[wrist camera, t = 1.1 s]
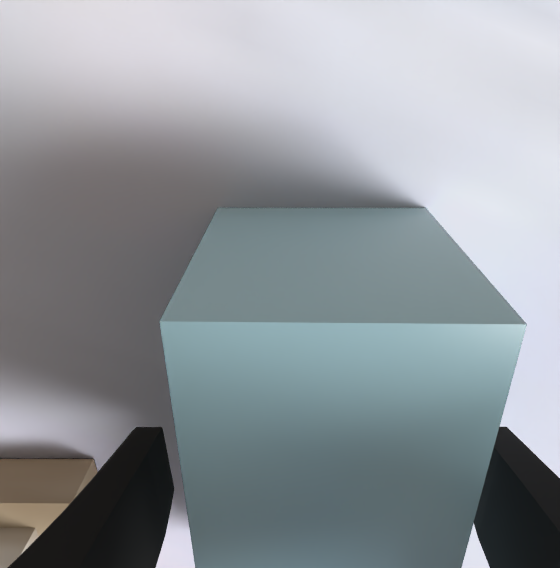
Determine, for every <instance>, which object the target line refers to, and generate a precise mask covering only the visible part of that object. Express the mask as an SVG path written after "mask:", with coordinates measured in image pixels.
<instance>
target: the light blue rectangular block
mask: <svg viewBox="0 0 560 568" xmlns="http://www.w3.org/2000/svg"><path fill="white" fill-rule="evenodd" d="M159 322H160V329H161V335H162V342H163V349H164V356H165V363H166V370H167V377H168V383H169V390H170V397H171V404H172V411H173V418H174V425H175V431H176V438H177V445H178V452H179V459H180V466H181V472H182V479H183V486H184V493H185V500H186V507H187V514H188V520H189V527H190V534H191V541H192V548H193V555H194V562H195V568H461V567H462V563H463V560H464V556H465V552H466V548H467V545H468V541H469V537H470V534H471V530H472V526H473V522H474V519H475V515H476V511H477V508H478V504H479V500H480V496H481V493H482V489H483V485H484V482H485V478H486V474H487V470H488V467H489V463H490V459H491V456H492V452H493V448H494V444H495V441H496V437H497V433H498V430H499V426H500V422H501V418H502V415H503V411H504V407H505V404H506V400H507V396H508V393H509V389H510V385H511V381H512V378H513V374H514V370H515V367H516V363H517V359H518V355H519V352H520V348H521V344H522V341H523V337H524V333H525V329H526V326H527V324H526V323H525V322H524V321H523V319H522V318H521V317H520V316H519V315H518V314H517V313H516V311H515V310H514V309H513V308H512V307H511V306H510V304H509V303H508V302H507V301H506V300H505V299H504V298H503V296H502V295H501V294H500V293H499V292H498V291H497V289H496V288H495V287H494V286H493V285H492V284H491V283H490V281H489V280H488V279H487V278H486V277H485V276H484V274H483V273H482V272H481V271H480V270H479V269H478V268H477V266H476V265H475V264H474V263H473V262H472V261H471V259H470V258H469V257H468V256H467V255H466V254H465V253H464V251H463V250H462V249H461V248H460V247H459V246H458V244H457V243H456V242H455V241H454V240H453V239H452V238H451V236H450V235H449V234H448V233H447V232H446V231H445V229H444V228H443V227H442V226H441V225H440V224H439V223H438V221H437V220H436V219H435V218H434V217H433V216H432V214H431V213H430V212H429V211H428V210H427V209H426V208H217V210H216V212H215V214H214V216H213V218H212V220H211V222H210V224H209V226H208V228H207V230H206V232H205V234H204V236H203V238H202V240H201V242H200V244H199V245H198V247H197V249H196V251H195V253H194V255H193V257H192V259H191V261H190V263H189V265H188V267H187V269H186V271H185V273H184V275H183V277H182V279H181V281H180V282H179V284H178V286H177V288H176V290H175V292H174V294H173V296H172V298H171V300H170V302H169V304H168V306H167V308H166V310H165V312H164V314H163V316H162V318H161V319H160V321H159Z"/></svg>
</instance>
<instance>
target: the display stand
mask: <svg viewBox="0 0 560 568" xmlns="http://www.w3.org/2000/svg"><path fill="white" fill-rule="evenodd" d="M97 473H98V472H97V469H96V465H95V462H94V459H0V568H7V567H9V566H10V565H11V564H12V563H13V562H14V561H15V560H16V559H17V558H18V557H19V556H20V555H21V554H22V553H23V552H24V551H25V550H26V549H27V548H28V547H29V546H30V545H31V544H32V543H33V542H34V541H35V540H36V539H37V538H38V537H39V536H40V535H41V534H42V533H43V532H44V531H45V530H46V528H47V527H48V526H49V525H50V524H51V523H52V522H53V521H54V520H55V519H56V518H57V517H58V516H59V515H60V514H61V513H62V512H63V511H64V510H65V509H66V508H67V506H68V505H69V504H70V503H71V502H72V501H73V500H74V499H75V497H76V496H77V495H78V494H79V493H80V492H81V491H82V490H83V489H84V487H85V486H86V485H87V484H88V483H89V482H90V481H91V480H92V478H93V477H94V476H95V475H96V474H97Z"/></svg>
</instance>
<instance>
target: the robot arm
mask: <svg viewBox="0 0 560 568" xmlns="http://www.w3.org/2000/svg"><path fill="white" fill-rule="evenodd" d="M173 493H174V485H173V480H172V475H171V470H170V465H169V460H168V454H167V449H166V444H165V439H164V434H163V429H162V427H136V428H135V429H134V430H133V431H132V432H131V433H130V435H129V436H128V437H127V438H126V439H125V441H124V442H123V443H122V444H121V445H120V447H119V448H118V449H117V450H116V451H115V453H114V454H113V455H112V456H111V457H110V458H109V460H108V461H107V462H106V463H105V464H104V466H103V467H102V468H101V469H100V470H99V471H98V473H97V474H96V475H95V476H94V477H93V478H92V480H91V481H90V482H89V483H88V484H87V485H86V486H85V487H84V489H83V490H82V491H81V492H80V493H79V494H78V495H77V496H76V497H75V499H74V500H73V501H72V502H71V503H70V504H69V505H68V506H67V508H66V509H65V510H64V511H63V512H62V513H61V514H60V515H59V516H58V517H57V518H56V519H55V520H54V521H53V522H52V523H51V524H50V525H49V526H48V527H47V528H46V530H45V531H44V532H43V533H42V534H41V535H40V536H39V537H38V538H37V539H36V540H35V541H34V542H33V543H32V544H31V545H30V546H29V547H28V548H27V549H26V550H25V551H24V552H23V553H22V554H21V555H20V556H19V557H18V558H17V559H16V560H15V561H14V562H13V563H12V564H11V565H10V566H9V567H7V568H155V567H156V564H157V561H158V557H159V554H160V551H161V548H162V544H163V541H164V537H165V534H166V529H167V524H168V519H169V514H170V509H171V504H172V498H173ZM474 525H475V528H476V532H477V535H478V538H479V541H480V543H481V546H482V549H483V551H484V554H485V556H486V559H487V561H488V564H489V566H490V568H560V478H559V477H558V476H557V475H556V474H554V473H553V472H552V471H551V470H550V469H549V468H548V467H547V466H546V465H545V464H544V463H543V462H542V461H541V460H540V459H539V458H538V457H537V456H536V455H535V454H534V453H533V452H532V451H531V450H530V449H529V448H528V447H527V446H526V445H525V444H524V443H523V442H522V441H521V440H520V439H518V438H517V437H516V436H515V435H514V434H513V433H512V432H511V431H510V430H509V429H508V428H507V427H499V430H498V433H497V437H496V441H495V444H494V448H493V452H492V456H491V459H490V463H489V467H488V470H487V474H486V478H485V482H484V485H483V489H482V493H481V496H480V500H479V504H478V508H477V511H476V515H475V519H474Z"/></svg>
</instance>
